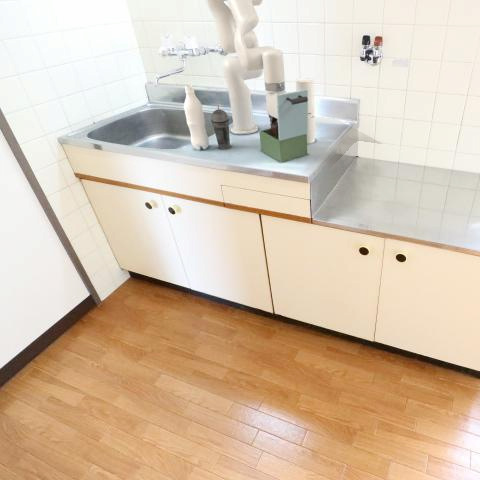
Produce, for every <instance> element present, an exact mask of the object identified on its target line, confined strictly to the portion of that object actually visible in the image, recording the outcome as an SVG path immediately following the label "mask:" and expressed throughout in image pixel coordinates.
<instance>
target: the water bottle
mask: <svg viewBox="0 0 480 480" xmlns="http://www.w3.org/2000/svg"><path fill="white" fill-rule="evenodd" d="M184 89H185V90H184V93H185V99H184V103H183V110H184V114H185V118H186V119H185V120H186V124H187V126H188V129H189V133H190V144H191V145H192V147H193V148H194V149H195V150H197V151H200V150H201V148H202V150H207V148H208V147H209V144H210V139H209V135H208V133H207V129H206V119H205V115H204V110H203V105H202V103H201V101H200V100H199V98H198V97H197V96H196V93H195V89H194V86H193V84H186V85H184Z"/></svg>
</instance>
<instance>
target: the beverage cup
mask: <svg viewBox="0 0 480 480" xmlns="http://www.w3.org/2000/svg"><path fill="white" fill-rule="evenodd" d="M215 100H216V106H217V109H215V110H214V111H213V112H211V115H210V122H211V125H212V126H213V131H214V134H215V138H216V142H217V145H218V148H219V150H227V149H230V148H231V139H230V126H229V125H230V118H229V114H228V113H227V112H226V111H225V110H223V109H220V105H219V99H218V98H216V99H215Z"/></svg>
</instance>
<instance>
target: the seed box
mask: <svg viewBox="0 0 480 480" xmlns="http://www.w3.org/2000/svg"><path fill="white" fill-rule="evenodd" d="M258 134H259V141H260V151H261V152H263V153H264V154H266V155H268V156H270V157H271V158H273V159H274V160H276V161H278V162H280V163H283V162H287V161H290V160H294V159H297V158H301V157H305V156H307V155H308V153H309V152H308V144H307V134H304V135H300V136H296V137H292V138H288V139H284V140H281V141H280V140H279V137H276V136H274V135H272V134H271V127H270V128H266V129H261V130H258Z"/></svg>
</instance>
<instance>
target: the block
mask: <svg viewBox="0 0 480 480" xmlns="http://www.w3.org/2000/svg"><path fill="white" fill-rule="evenodd" d="M269 125H270V128H271V134H272V135H274V136H276V137H279V136H278V121H277V122H273V123H271V122H270V123H269Z"/></svg>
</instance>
